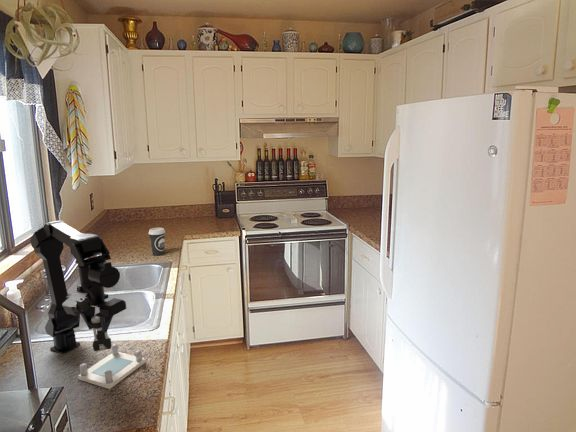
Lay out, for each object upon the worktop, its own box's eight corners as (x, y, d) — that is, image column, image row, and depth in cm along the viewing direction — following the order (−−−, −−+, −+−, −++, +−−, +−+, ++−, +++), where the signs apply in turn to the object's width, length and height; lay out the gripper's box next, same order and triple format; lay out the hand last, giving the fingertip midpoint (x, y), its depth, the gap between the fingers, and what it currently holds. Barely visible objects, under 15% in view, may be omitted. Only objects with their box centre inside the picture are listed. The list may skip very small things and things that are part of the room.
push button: (86, 355, 113) (81, 323, 111) (89, 347, 118) (84, 315, 116) (111, 350, 115) (107, 318, 113) (113, 342, 120) (109, 311, 118)
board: (78, 379, 114) (76, 366, 113) (115, 354, 127) (114, 342, 126) (109, 389, 110) (108, 375, 109) (145, 362, 122) (144, 350, 121)
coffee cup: (167, 251, 236) (165, 226, 233) (167, 255, 227) (165, 230, 224) (150, 252, 233) (148, 228, 230) (149, 257, 224) (147, 231, 221)
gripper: (42, 285, 108) (50, 337, 111) (91, 295, 101) (98, 350, 104) (78, 272, 118) (84, 320, 121) (124, 280, 111) (130, 331, 114)
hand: (98, 330), depth 115 cm, fingers closed on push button, 5 cm apart
